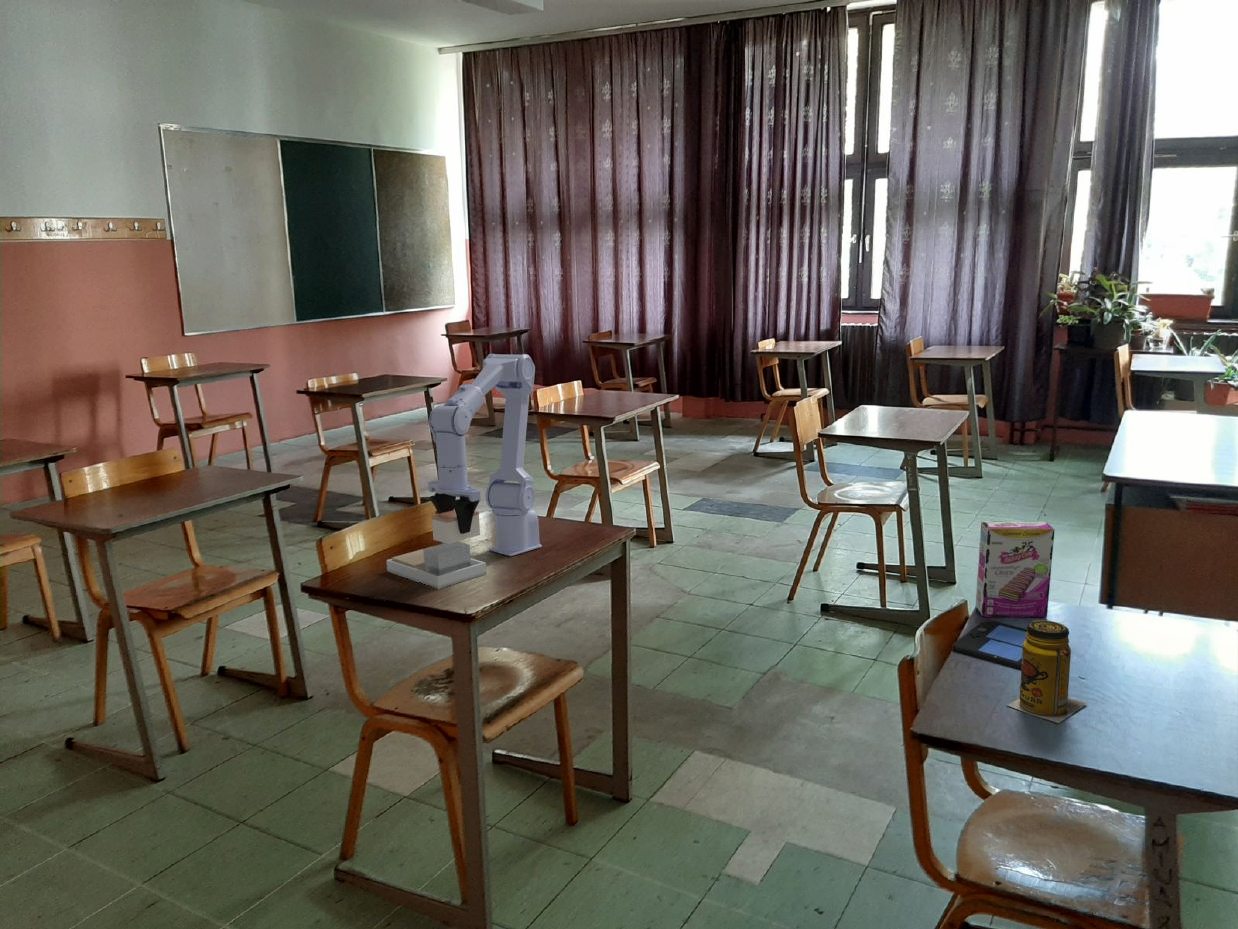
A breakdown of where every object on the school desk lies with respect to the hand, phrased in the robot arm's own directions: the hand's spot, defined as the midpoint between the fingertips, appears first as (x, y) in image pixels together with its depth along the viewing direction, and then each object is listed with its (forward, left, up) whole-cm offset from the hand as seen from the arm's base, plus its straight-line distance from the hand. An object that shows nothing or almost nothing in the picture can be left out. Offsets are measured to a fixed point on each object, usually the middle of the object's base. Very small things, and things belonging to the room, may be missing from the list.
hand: (456, 530), depth 188 cm
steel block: (+1, -3, -10) cm, 10 cm away
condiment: (-18, +110, -11) cm, 112 cm away
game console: (-34, +99, -11) cm, 105 cm away
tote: (+1, -7, -10) cm, 13 cm away
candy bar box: (-50, +93, -11) cm, 106 cm away
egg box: (0, 0, -1) cm, 1 cm away
